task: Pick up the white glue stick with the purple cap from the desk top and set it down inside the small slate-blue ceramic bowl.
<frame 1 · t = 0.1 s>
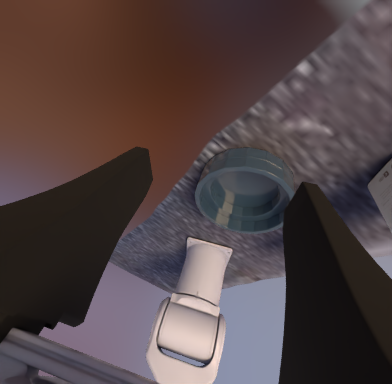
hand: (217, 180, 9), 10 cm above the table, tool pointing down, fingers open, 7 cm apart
dish: (245, 183, 22), on the table
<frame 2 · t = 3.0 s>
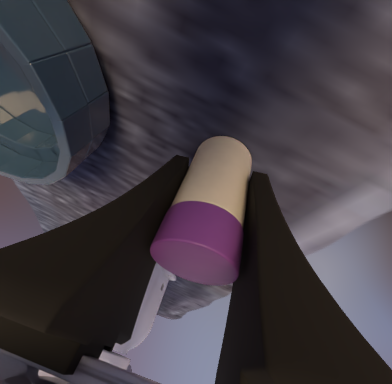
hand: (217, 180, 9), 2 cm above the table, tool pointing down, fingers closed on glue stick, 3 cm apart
glue stick: (223, 160, 11), on the table, touching gripper
dish: (20, 62, 10), on the table
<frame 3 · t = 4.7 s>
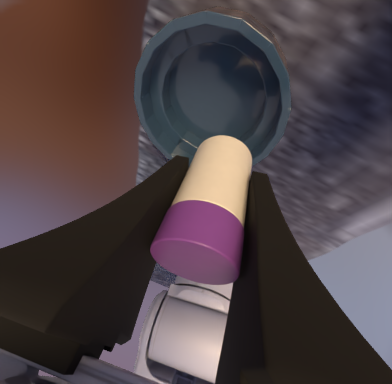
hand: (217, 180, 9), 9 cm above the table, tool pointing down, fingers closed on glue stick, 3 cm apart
glue stick: (223, 159, 11), point 7 cm above the table, touching gripper
dish: (216, 96, 15), on the table
when the fingers open (2 cm above the table, at t = 7.4 s): glue stick stays where it is, resting on dish.
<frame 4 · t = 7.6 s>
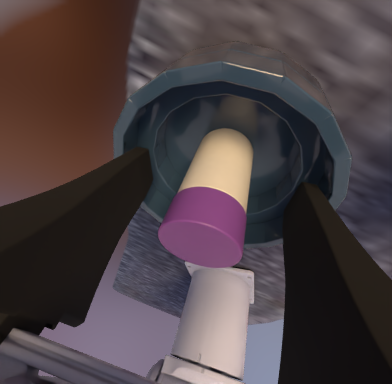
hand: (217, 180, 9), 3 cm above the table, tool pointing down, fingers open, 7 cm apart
glue stick: (225, 152, 11), resting on dish
dish: (227, 148, 11), on the table
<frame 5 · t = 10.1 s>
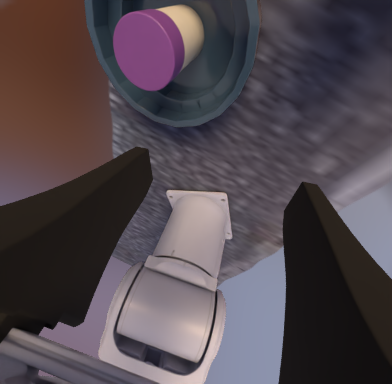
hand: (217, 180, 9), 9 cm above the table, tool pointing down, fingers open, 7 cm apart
glue stick: (182, 35, 13), resting on dish
dish: (185, 35, 14), on the table
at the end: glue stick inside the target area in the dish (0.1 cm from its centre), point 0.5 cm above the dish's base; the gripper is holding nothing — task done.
